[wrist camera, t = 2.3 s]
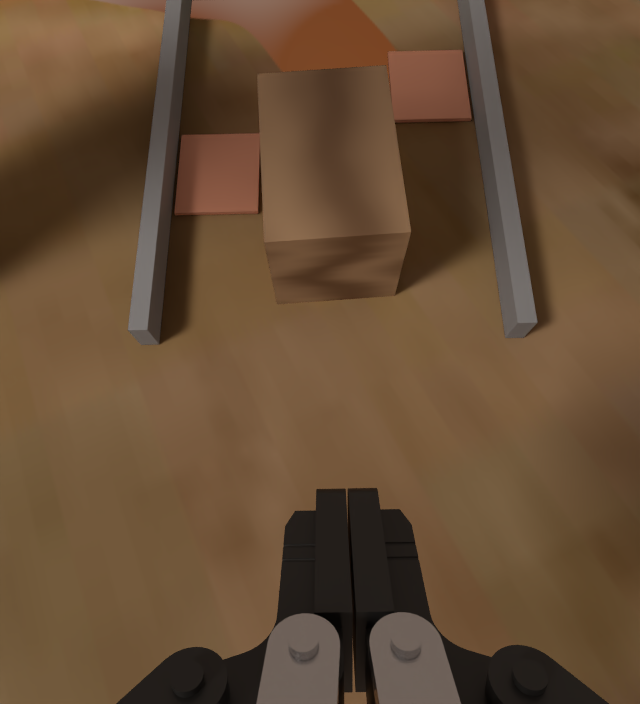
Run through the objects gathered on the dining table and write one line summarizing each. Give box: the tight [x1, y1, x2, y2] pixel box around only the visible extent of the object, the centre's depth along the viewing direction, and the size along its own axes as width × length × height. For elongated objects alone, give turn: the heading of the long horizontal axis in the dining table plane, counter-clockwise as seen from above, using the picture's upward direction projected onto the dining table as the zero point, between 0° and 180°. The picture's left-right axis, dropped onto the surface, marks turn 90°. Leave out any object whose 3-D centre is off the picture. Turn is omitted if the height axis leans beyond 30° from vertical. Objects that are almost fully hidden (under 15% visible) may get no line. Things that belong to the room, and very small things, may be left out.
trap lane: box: [128, 0, 537, 345], centre depth 39 cm, size 25×33×5 cm
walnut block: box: [257, 65, 411, 304], centre depth 35 cm, size 8×12×8 cm, turn 4°
